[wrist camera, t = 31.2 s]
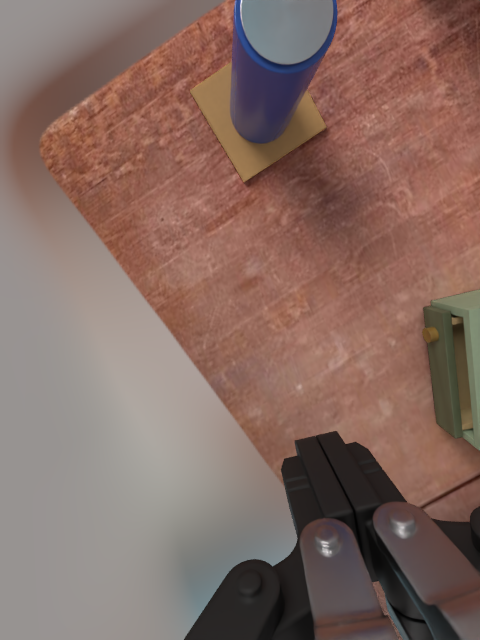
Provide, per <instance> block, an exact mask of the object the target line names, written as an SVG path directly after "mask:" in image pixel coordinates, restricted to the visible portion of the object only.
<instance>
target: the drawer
mask: <svg viewBox="0 0 480 640" xmlns="http://www.w3.org/2000/svg"><path fill="white" fill-rule="evenodd" d="M423 310H424V318H425V327H426V328H424V329H423V332H422V333H423V337H424V339H425V341H426V342H427V344H428V353H429V362H430V370H431V379H432V387H433V396H434V405H435V413H436V422H437V424H438V425H439V426H441V427H442V428H443V429H444V430H445V431H447V432H448V433H449V434H450V435H452V436H453V437H454V438H455V439H456V438H461V437H463V430H467V429H471V428H473V420H472V409H471V398H470V387H469V376H468V365H467V354H466V343H465V332H464V321H463V317H460V316H456V315H453V314H451V311H447V310H444V309H440V308H436V307H433V306H428V307H424V308H423Z"/></svg>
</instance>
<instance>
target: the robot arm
mask: <svg viewBox="0 0 480 640" xmlns="http://www.w3.org/2000/svg"><path fill="white" fill-rule="evenodd" d="M295 447H296V451H297V456H294V457H290V458H285V459H284V461H283V465H282V468H281V472H282V476H283V481H284V485H285V490H286V494H287V499H288V503H289V507H290V511H291V515H292V519H293V522H294V526H295V530H296V534H297V538H298V539H297V543H296V546H295V548H294V550H293V551H292V552H291V554H290V555H289V556H288V557H287V558H285V559H284V560H282V561H281V562H279V563H278V564H276V565H275V566H273V567H272V566H271V565H270V564H269V563H267V562H265V561H262V560H256V559H253V560H247V561H244V562H241V563H240V564H238V565H236V566H235V567H234V568H233V569H232V570H231V571H230V572H229V573H228V574H227V576H226V577H225V579H224V580H223V582H222V583H221V585H220V586H219V588H218V589H217V591H216V592H215V594H214V595H213V597H212V598H211V600H210V601H209V603H208V604H207V606H206V607H205V609H204V610H203V612H202V613H201V615H200V616H199V618H198V619H197V621H196V622H195V624H194V625H193V627H192V628H191V630H190V631H189V633H188V634H187V636H186V637H185V639H184V640H398V637H397V635H396V632H395V630H394V627H393V625H392V623H391V621H390V619H389V617H388V616H387V615H384V613H383V611H382V608H381V606H380V603H379V600H378V598H377V595H376V592H375V589H374V587H373V584H372V582H376V581H379V582H380V584H381V586H382V588H383V591H384V593H385V598H386V604H387V609H388V612H389V614H390V616H391V618H392V620H393V622H394V624H395V625H396V627H397V629H398V631H399V633H400V635H401V636H402V638H403V640H480V507H478V508H476V509H475V510H473V512H472V513H471V516H470V522H451V521H440V520H435V519H432V518H430V517H429V516H428V514H426V513H425V512H424V511H423V510H422V509H420V508H419V507H417V506H415V505H412V504H410V503H407V501H406V500H405V499H404V497H403V496H402V495H401V493H400V492H399V491H398V489H397V488H396V486H395V485H394V484H393V482H392V481H391V480H390V478H389V477H388V476H387V474H386V473H385V472H384V470H382V467H381V466H380V465H379V463H378V462H376V459H375V458H374V457H373V455H372V454H371V452H370V451H369V450H368V449H367V448H365V447H364V446H362V445H360V444H359V443H357V442H353V443H349V444H345V443H344V441H343V440H342V438H341V437H340V435H339V434H338V432H337V431H333V432H329V433H325V434H320V435H316V437H315V436H312V437H308V438H304V439H299V440H295Z"/></svg>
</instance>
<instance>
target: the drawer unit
mask: <svg viewBox="0 0 480 640" xmlns="http://www.w3.org/2000/svg"><path fill="white" fill-rule="evenodd" d="M431 306H433V307H436V308H440V309H444V310H447V311H451V314H453V315H456V316H460V317H463V321H464V332H465V343H466V354H467V365H468V376H469V387H470V398H471V409H472V420H473V428H471V429H467V430H463V438H464V439H465V440H466V441H468V442H469V443H470V444H471V445H473V446H474V447H475V448H476V449H478V450H479V451H480V289H479V290H475V291H471V292H466V293H462V294H458V295H454V296H449V297H445V298H441V299H436V300H432V301H431Z"/></svg>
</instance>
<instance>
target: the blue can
mask: <svg viewBox="0 0 480 640" xmlns="http://www.w3.org/2000/svg"><path fill="white" fill-rule="evenodd" d="M336 25H337V3H336V0H235V6H234V24H233V47H232V69H231V92H230V116H231V120H232V123H233V125H234V127H235V129H236V130H237V132H238V133H239V134H240V135H241V136H242V137H243V138H245V139H246V140H248V141H250V142H253V143H259V144H263V143H268V142H271V141H274V140H275V139H277V138H278V137H280V136H281V135H282V134H283V132H284V131H285V130H286V128H287V126H288V125H289V123H290V121H291V119H292V117H293V115H294V113H295V111H296V109H297V107H298V105H299V103H300V102H301V100H302V98H303V96H304V94H305V92H306V90H307V88H308V86H309V84H310V82H311V80H312V79H313V77H314V75H315V73H316V71H317V69H318V67H319V65H320V63H321V61H322V59H323V58H324V56H325V54H326V52H327V50H328V48H329V46H330V44H331V42H332V39H333V37H334V34H335V30H336Z"/></svg>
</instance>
